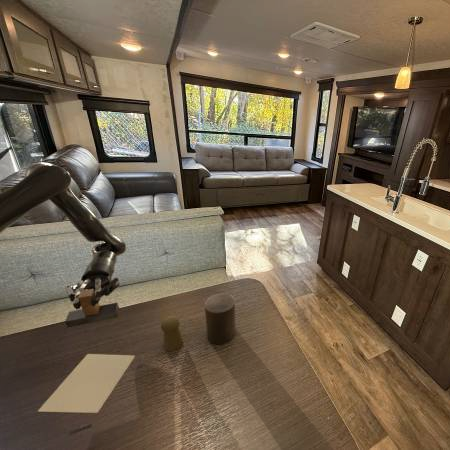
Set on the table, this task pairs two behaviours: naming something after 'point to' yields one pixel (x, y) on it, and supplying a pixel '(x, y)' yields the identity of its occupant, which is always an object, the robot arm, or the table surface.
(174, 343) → the cork
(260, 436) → the table surface
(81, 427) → the mark
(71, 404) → the memo board
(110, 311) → the wooden handled grey block
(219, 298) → the pillar candle
